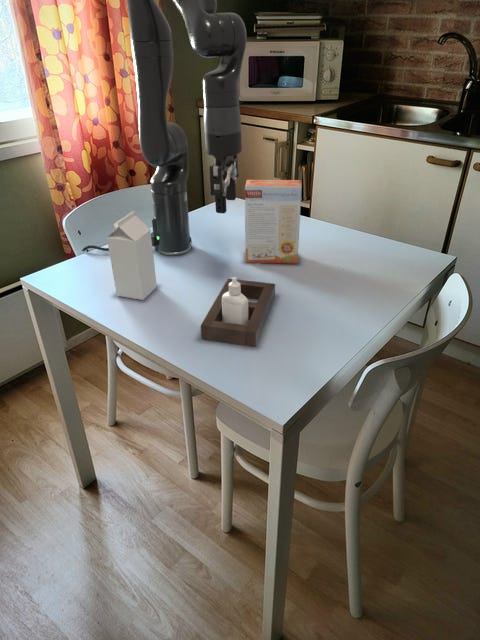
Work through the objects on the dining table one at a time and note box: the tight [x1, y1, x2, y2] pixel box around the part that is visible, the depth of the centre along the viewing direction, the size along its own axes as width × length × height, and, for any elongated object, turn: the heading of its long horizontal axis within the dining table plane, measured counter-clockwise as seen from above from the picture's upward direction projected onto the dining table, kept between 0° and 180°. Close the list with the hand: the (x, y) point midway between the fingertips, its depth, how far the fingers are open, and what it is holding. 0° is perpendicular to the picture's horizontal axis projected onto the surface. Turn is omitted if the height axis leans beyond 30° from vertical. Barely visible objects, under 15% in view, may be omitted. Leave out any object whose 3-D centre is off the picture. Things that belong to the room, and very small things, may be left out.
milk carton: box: [106, 210, 158, 301], centre depth 111 cm, size 7×7×19 cm
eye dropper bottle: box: [222, 276, 249, 326], centre depth 99 cm, size 4×6×12 cm
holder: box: [200, 278, 276, 348], centre depth 105 cm, size 11×21×4 cm, turn 166°
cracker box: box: [244, 179, 303, 265], centre depth 124 cm, size 14×6×21 cm, turn 84°
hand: (226, 206), depth 107 cm, fingers open, 8 cm apart
